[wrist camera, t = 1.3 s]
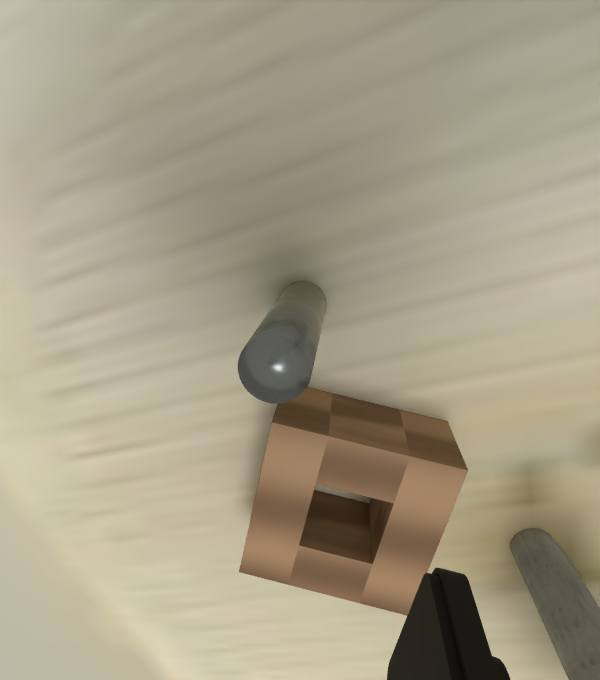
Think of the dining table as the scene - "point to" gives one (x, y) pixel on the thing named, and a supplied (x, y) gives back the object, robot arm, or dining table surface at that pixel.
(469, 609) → the robot arm
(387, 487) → the wooden square hole block
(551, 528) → the dining table surface
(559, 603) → the hip flask
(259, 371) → the grey metal rod
